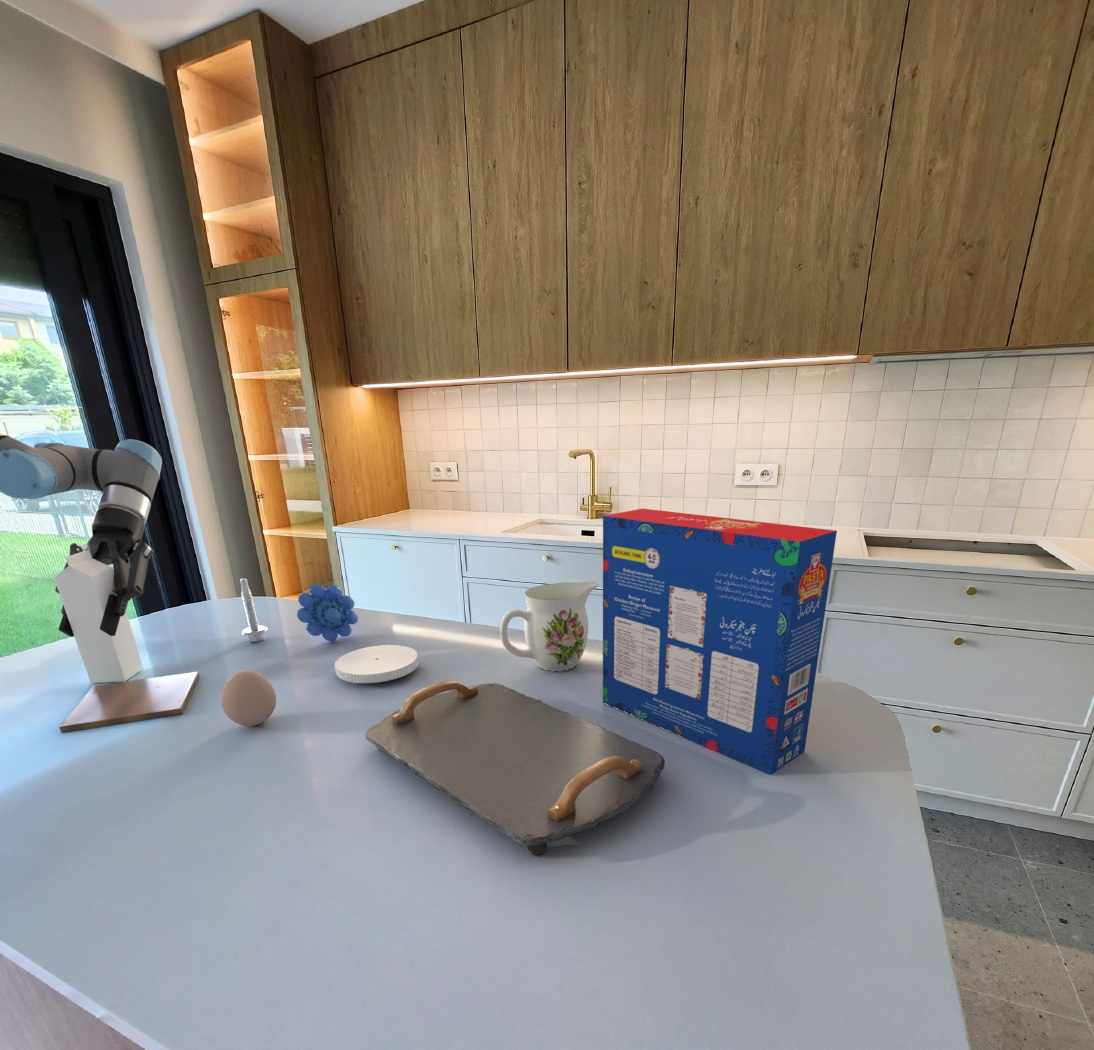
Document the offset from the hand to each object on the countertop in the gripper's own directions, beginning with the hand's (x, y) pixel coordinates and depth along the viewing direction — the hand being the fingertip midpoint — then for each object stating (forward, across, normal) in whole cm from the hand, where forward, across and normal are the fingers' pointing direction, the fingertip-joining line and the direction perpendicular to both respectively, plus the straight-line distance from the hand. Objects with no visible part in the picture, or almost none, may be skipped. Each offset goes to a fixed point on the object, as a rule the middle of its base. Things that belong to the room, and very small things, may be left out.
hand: (87, 632), depth 104 cm
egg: (+18, -34, +5) cm, 39 cm away
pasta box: (+20, -98, +7) cm, 100 cm away
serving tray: (+27, -72, +14) cm, 78 cm away
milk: (+4, 0, -9) cm, 10 cm away
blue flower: (-7, -34, -20) cm, 40 cm away
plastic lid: (+5, -47, -9) cm, 48 cm away
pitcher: (+4, -78, -10) cm, 78 cm away
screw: (-8, -17, -22) cm, 29 cm away
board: (+12, -11, -1) cm, 16 cm away
